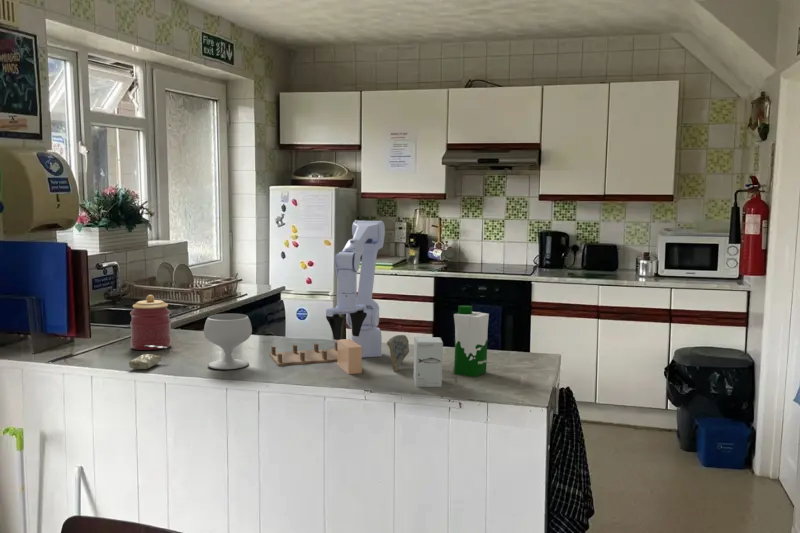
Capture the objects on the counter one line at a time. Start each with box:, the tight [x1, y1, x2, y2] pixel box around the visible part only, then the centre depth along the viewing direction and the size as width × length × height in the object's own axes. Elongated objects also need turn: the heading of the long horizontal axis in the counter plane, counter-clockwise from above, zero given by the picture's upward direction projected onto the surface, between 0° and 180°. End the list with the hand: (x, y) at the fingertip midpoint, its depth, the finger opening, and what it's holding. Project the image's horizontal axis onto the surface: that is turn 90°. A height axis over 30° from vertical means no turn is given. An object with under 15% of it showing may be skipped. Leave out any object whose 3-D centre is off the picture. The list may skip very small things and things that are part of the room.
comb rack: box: [268, 341, 338, 367], centre depth 220 cm, size 23×15×3 cm, turn 111°
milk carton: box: [453, 304, 490, 378], centre depth 201 cm, size 9×9×20 cm
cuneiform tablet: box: [128, 345, 169, 370], centre depth 207 cm, size 7×4×12 cm
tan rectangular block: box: [336, 338, 363, 375], centre depth 206 cm, size 4×12×8 cm, turn 21°
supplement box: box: [413, 336, 444, 388], centre depth 190 cm, size 7×7×13 cm
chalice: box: [203, 312, 253, 370], centre depth 208 cm, size 14×14×15 cm
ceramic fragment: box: [386, 334, 410, 373], centre depth 207 cm, size 11×3×10 cm, turn 151°
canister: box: [129, 294, 172, 351], centre depth 232 cm, size 13×13×18 cm
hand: (346, 337), depth 206 cm, fingers open, 7 cm apart
